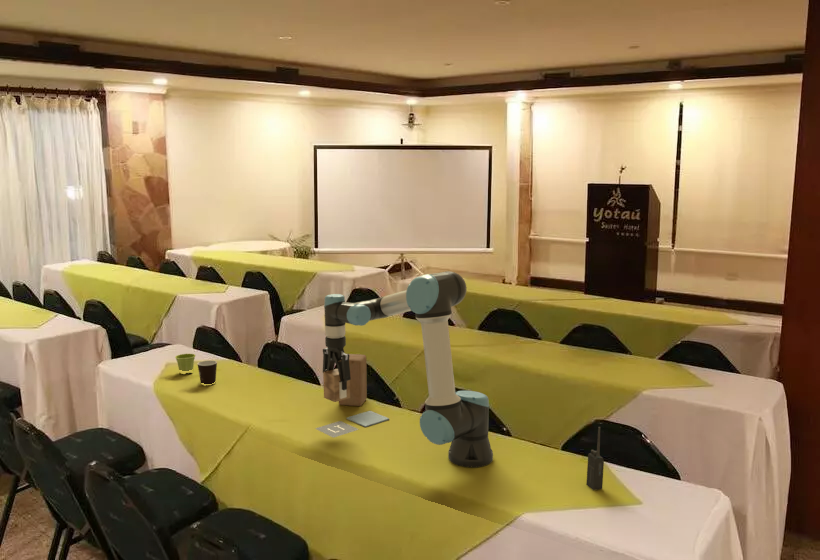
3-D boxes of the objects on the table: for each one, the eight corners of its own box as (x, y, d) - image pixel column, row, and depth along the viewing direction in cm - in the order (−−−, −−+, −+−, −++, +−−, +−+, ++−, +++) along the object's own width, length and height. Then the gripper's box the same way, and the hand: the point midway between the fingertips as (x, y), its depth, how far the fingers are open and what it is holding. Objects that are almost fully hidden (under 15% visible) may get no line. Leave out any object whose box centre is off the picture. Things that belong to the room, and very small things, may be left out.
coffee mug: (214, 386, 303) (213, 365, 301) (195, 386, 303) (194, 365, 302) (222, 379, 314) (221, 358, 313) (203, 379, 315) (203, 358, 313)
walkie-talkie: (603, 489, 205) (606, 427, 201) (593, 490, 204) (596, 428, 201) (595, 482, 209) (598, 421, 206) (585, 484, 208) (588, 423, 205)
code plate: (359, 429, 252) (359, 429, 252) (333, 437, 244) (333, 437, 244) (340, 421, 261) (340, 420, 261) (314, 428, 253) (314, 428, 253)
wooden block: (361, 407, 277) (360, 360, 274) (338, 405, 279) (337, 359, 276) (367, 399, 287) (366, 354, 283) (345, 397, 289) (344, 352, 285)
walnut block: (350, 397, 250) (349, 372, 249) (334, 402, 246) (334, 375, 244) (338, 393, 256) (338, 368, 254) (323, 397, 251) (323, 372, 249)
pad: (389, 419, 262) (389, 418, 262) (365, 427, 254) (365, 426, 254) (370, 411, 271) (370, 410, 271) (346, 419, 263) (346, 417, 263)
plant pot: (172, 375, 320) (171, 358, 319) (182, 370, 329) (181, 353, 328) (190, 376, 318) (189, 359, 317) (199, 371, 328) (198, 353, 326)
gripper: (360, 338, 242) (361, 399, 246) (328, 330, 257) (329, 387, 260) (343, 342, 237) (344, 404, 241) (311, 333, 252) (313, 391, 255)
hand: (336, 395), depth 250 cm, fingers closed on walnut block, 7 cm apart
